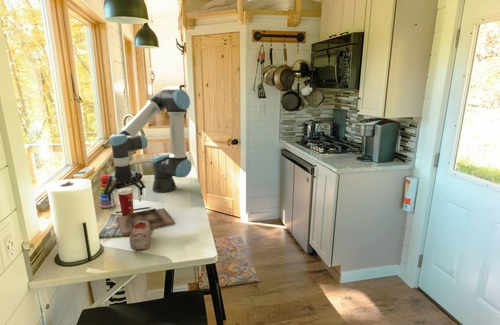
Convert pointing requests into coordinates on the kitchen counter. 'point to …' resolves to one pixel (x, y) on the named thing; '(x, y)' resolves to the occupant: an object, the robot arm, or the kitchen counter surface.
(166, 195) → the kitchen counter surface
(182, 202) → the kitchen counter surface
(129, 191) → the paper cup
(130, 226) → the assembly base
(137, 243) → the food item
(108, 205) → the stacking toy
